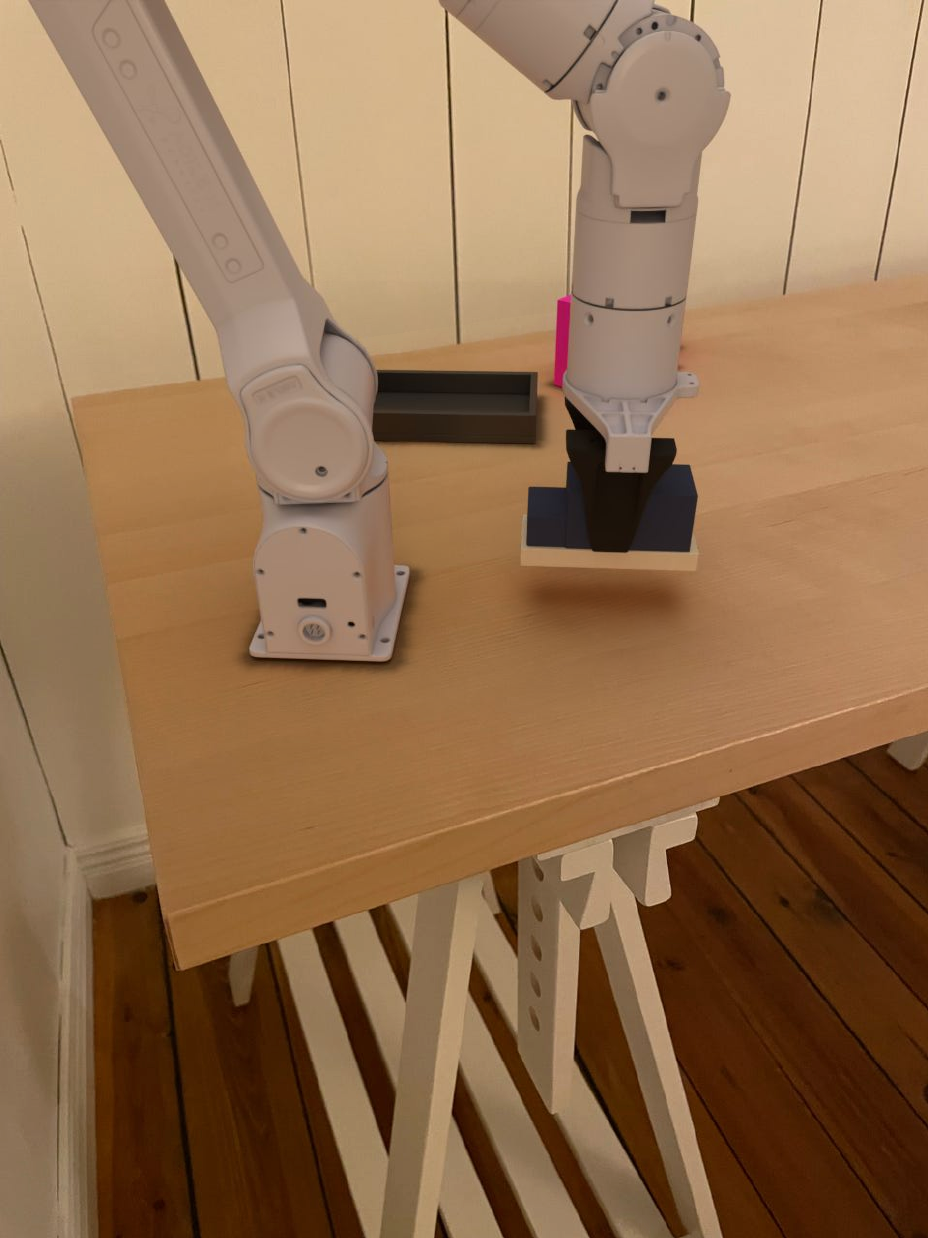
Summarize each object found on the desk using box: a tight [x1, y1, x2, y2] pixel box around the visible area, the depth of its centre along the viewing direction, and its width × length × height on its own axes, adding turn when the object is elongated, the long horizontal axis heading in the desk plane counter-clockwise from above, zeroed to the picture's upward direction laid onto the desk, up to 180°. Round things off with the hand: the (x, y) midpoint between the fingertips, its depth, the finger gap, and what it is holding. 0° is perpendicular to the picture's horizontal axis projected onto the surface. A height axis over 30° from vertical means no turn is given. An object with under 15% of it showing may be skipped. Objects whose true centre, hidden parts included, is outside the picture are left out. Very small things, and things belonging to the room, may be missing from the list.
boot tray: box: [372, 369, 539, 445], centre depth 80 cm, size 9×15×2 cm, turn 86°
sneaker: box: [519, 461, 700, 572], centre depth 56 cm, size 10×4×5 cm, turn 86°
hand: (608, 530), depth 56 cm, fingers closed on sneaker, 4 cm apart
